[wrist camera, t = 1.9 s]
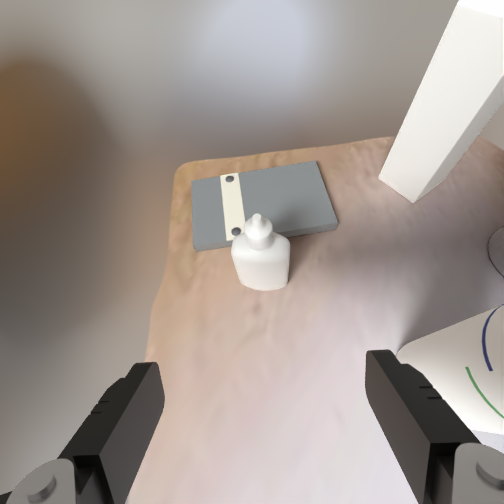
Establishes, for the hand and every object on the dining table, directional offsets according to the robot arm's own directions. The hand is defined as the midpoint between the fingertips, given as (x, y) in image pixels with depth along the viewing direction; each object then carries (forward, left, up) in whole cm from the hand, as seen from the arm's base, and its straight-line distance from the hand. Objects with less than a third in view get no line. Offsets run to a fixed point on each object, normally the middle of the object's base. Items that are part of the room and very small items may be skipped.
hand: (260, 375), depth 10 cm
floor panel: (-2, -22, -18) cm, 28 cm away
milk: (-23, -23, -18) cm, 37 cm away
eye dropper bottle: (-1, -12, -18) cm, 21 cm away
